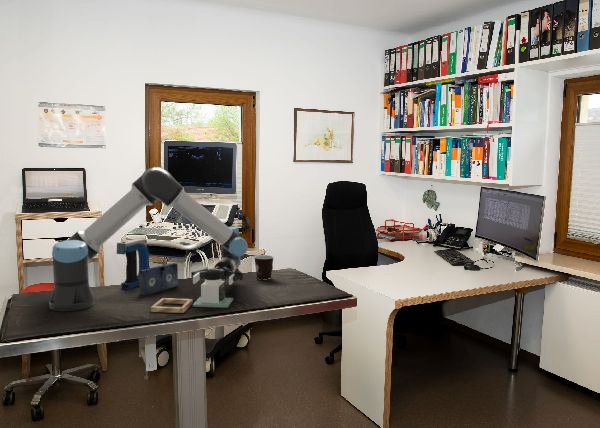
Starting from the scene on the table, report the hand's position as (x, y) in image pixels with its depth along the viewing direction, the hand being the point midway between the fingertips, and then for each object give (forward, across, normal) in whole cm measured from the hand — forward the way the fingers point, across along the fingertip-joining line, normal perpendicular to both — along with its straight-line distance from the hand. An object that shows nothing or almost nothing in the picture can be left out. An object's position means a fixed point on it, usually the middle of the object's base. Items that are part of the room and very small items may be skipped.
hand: (211, 280), depth 187 cm
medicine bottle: (-2, 0, -9) cm, 9 cm away
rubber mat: (-2, 0, -9) cm, 10 cm away
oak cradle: (+5, +14, -9) cm, 17 cm away
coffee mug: (-42, -13, -10) cm, 45 cm away
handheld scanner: (-23, +40, -10) cm, 47 cm away
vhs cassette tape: (-18, +27, -10) cm, 34 cm away
